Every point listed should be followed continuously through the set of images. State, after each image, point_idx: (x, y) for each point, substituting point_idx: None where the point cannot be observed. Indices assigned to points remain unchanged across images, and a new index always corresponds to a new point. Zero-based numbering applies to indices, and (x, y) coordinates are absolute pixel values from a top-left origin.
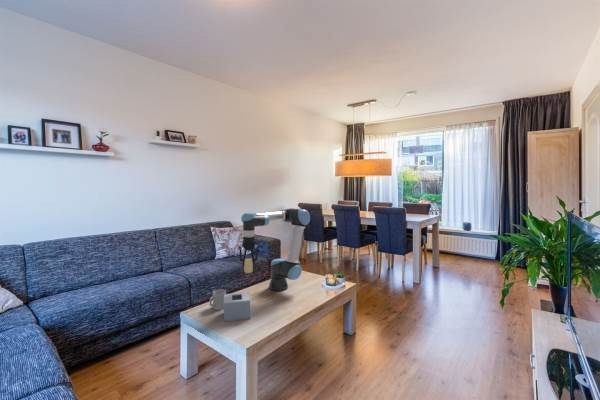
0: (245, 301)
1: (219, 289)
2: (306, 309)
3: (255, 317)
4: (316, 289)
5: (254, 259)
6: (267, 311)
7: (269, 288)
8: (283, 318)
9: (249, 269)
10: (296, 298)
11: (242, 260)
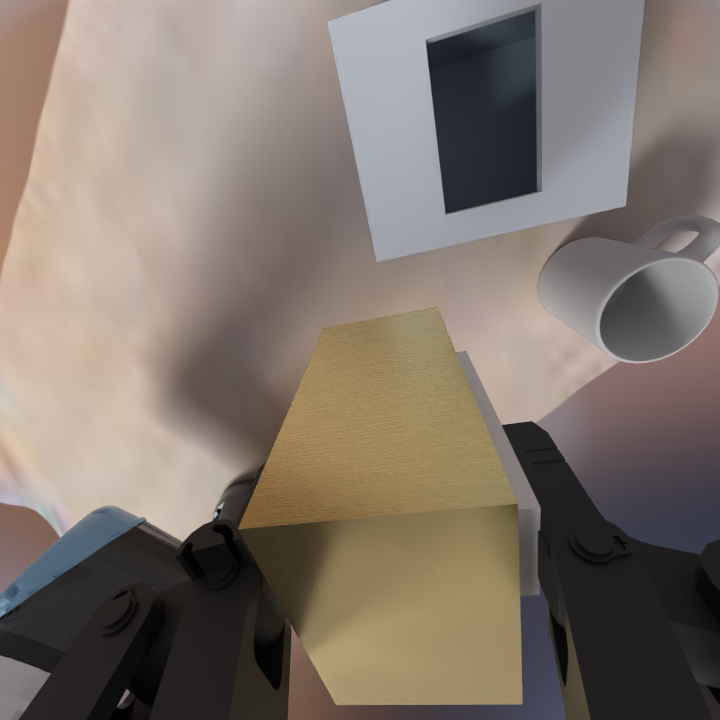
0: (381, 8)
1: (650, 360)
2: (25, 248)
3: (315, 112)
4: (73, 490)
5: (188, 630)
6: (255, 216)
7: None
8: (118, 97)
9: (360, 348)
10: (136, 395)
11: (649, 582)
